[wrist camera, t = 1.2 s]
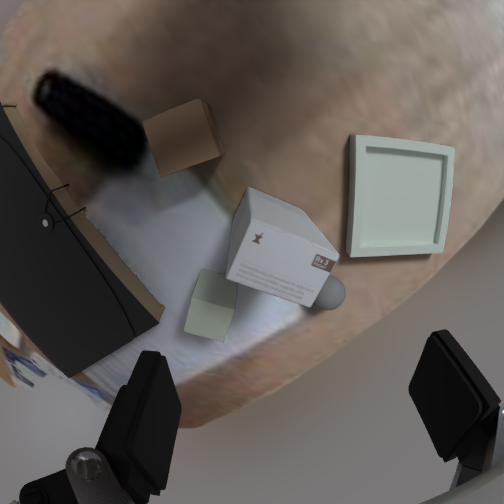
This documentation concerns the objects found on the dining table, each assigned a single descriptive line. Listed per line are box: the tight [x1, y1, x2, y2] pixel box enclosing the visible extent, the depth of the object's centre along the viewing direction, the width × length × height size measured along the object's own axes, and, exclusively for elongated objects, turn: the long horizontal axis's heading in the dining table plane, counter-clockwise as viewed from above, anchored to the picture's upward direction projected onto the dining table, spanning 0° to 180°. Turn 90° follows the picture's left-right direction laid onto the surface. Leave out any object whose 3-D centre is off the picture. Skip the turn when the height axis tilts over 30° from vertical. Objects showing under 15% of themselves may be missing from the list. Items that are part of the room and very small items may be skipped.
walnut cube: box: [142, 98, 225, 178], centre depth 23 cm, size 5×5×5 cm
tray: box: [345, 135, 455, 257], centre depth 26 cm, size 12×12×2 cm
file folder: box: [0, 102, 165, 378], centre depth 28 cm, size 33×4×24 cm
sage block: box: [184, 269, 238, 342], centre depth 28 cm, size 4×4×6 cm
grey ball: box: [314, 276, 346, 310], centre depth 29 cm, size 4×4×4 cm
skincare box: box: [226, 187, 339, 308], centre depth 23 cm, size 6×4×12 cm
